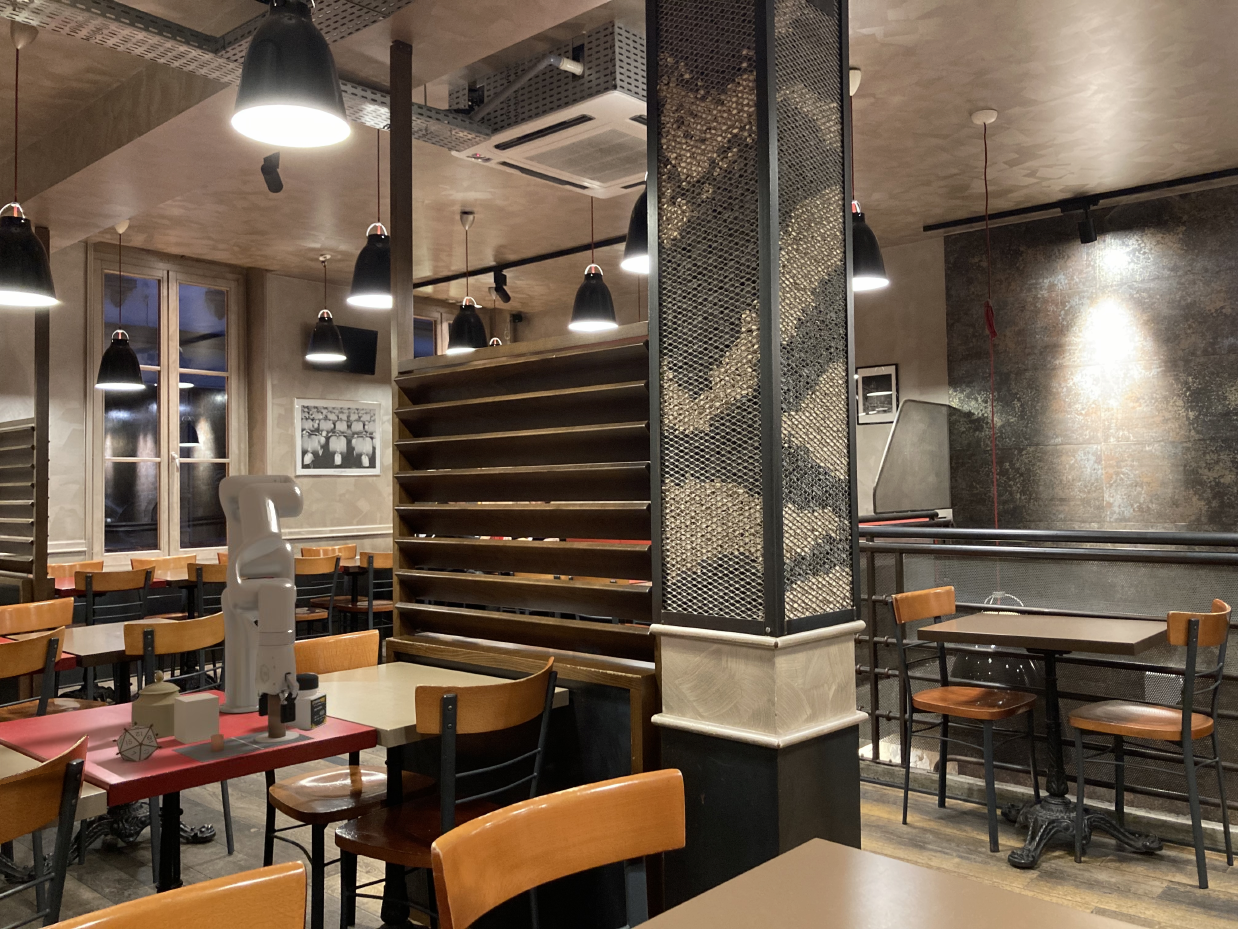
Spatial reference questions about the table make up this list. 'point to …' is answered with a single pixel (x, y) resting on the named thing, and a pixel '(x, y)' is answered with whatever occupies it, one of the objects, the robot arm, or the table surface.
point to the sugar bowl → (156, 707)
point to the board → (238, 745)
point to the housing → (196, 717)
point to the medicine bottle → (309, 703)
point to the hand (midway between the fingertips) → (276, 718)
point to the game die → (137, 743)
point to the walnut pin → (275, 717)
